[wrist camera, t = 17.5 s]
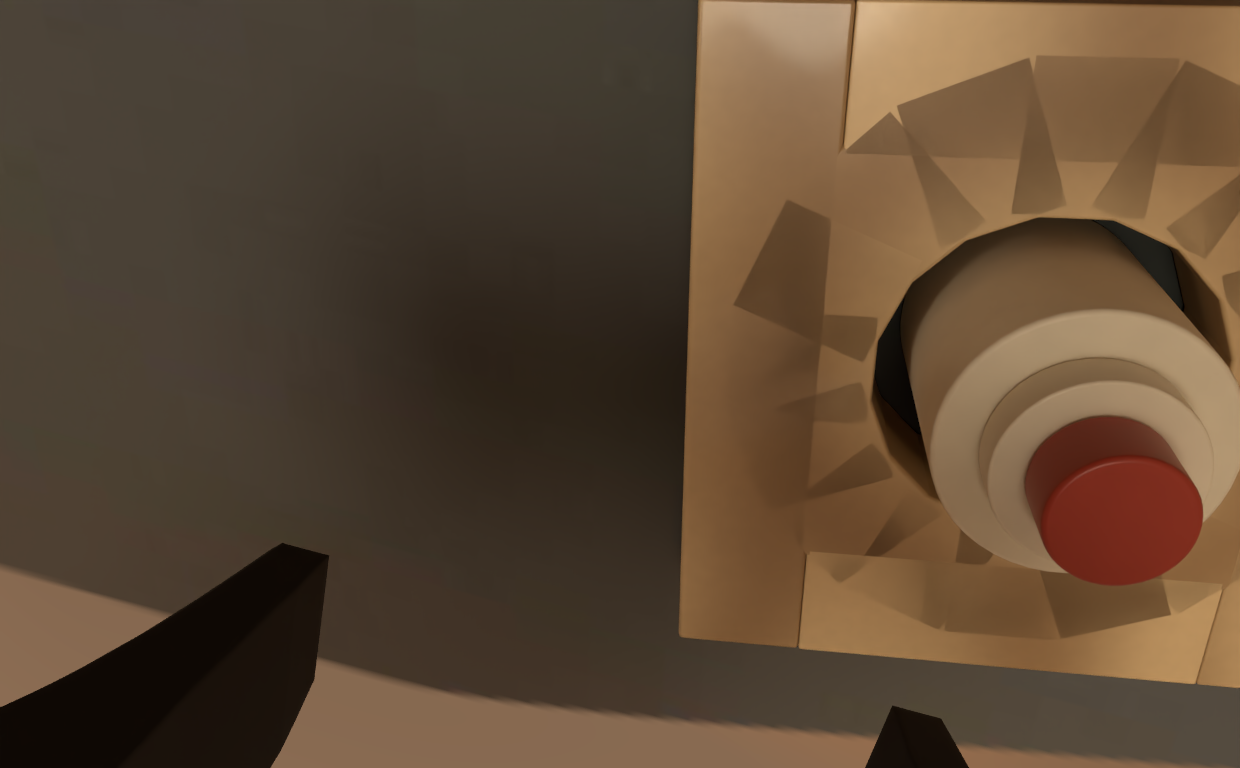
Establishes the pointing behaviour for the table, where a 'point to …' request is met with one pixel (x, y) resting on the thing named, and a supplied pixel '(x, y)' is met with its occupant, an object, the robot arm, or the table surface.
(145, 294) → the table surface
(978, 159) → the board
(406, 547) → the table surface
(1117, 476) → the bottle
